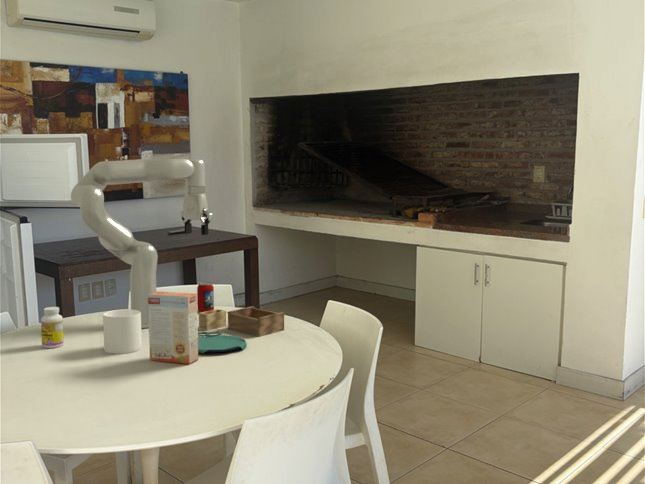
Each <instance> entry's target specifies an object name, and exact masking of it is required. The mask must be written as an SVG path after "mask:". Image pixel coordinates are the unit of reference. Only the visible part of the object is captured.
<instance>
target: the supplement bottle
mask: <svg viewBox="0 0 645 484" xmlns="http://www.w3.org/2000/svg"><path fill="white" fill-rule="evenodd" d="M43 313H44V315H43V316H42V317H41V319H40V327H41V329H40V330H41V347H42V348H43V349H57V348H60V347H62V346H63V345H64V324H63V323H64V318H63V316H62V315H61V314H59V313H60V307H59V306H50V307H49V306H48V307H45V308H43Z"/></svg>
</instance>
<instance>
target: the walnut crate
mask: <svg viewBox="0 0 645 484" xmlns="http://www.w3.org/2000/svg"><path fill="white" fill-rule="evenodd" d="M285 313H286V312H284V311H281V312H276V311H272V310H271V311H270V310H265V309H261V308H256V306H252V305H251V306H248V307H242V308H238V309H234V310H229V311H226V314H227V329H228V330H231V331H232V332H233V331H234V332H239V333H241V334H247V335H251V336H256V337H264V336H267V335H270V334H275V333H278V332H282V331H284V330H285Z"/></svg>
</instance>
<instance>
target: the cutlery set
mask: <svg viewBox="0 0 645 484" xmlns="http://www.w3.org/2000/svg"><path fill="white" fill-rule="evenodd" d="M247 346H248V343H247V342H246V340H245V339H243V338H241V337H239V336H238V335H237V336H236V335H228V334H226V335H225V334H222V332H220V331H218V330H217V331H206V330H202V331H201V332H198V354H199V353H200V354H205V353H220V352H229V351H230V352H231V351H234V350H237V349H240V348H241V349H242V351H243V350H245V349H246V348H247Z"/></svg>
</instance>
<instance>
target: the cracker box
mask: <svg viewBox="0 0 645 484" xmlns="http://www.w3.org/2000/svg"><path fill="white" fill-rule="evenodd" d="M148 309H149V328H148V335H149V337H148V338H149V340H148V341H149V361H156V362H164V363H165V362H166V363H175V364H183V365H191V364H192V363H194V362H196V361H198V360H199V353H198V337H199V336H198V335H199V334H198V333H199V320H198V304H197V293H190V292H187V293H186V292H175V291H174V292H172V291H156V292H154V293H151V294H148Z"/></svg>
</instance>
